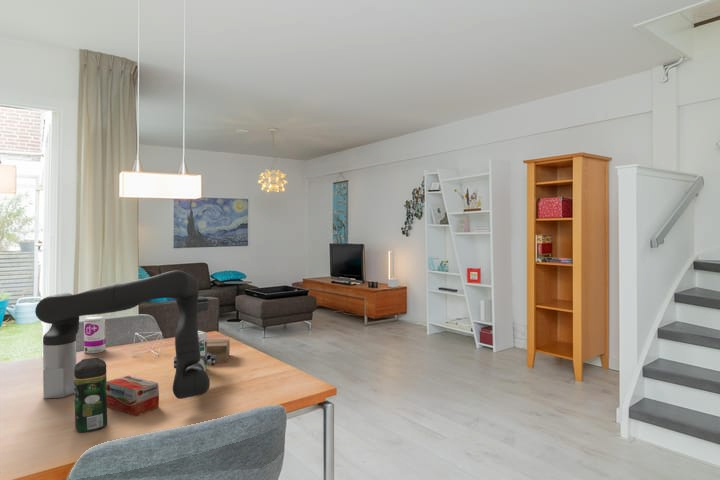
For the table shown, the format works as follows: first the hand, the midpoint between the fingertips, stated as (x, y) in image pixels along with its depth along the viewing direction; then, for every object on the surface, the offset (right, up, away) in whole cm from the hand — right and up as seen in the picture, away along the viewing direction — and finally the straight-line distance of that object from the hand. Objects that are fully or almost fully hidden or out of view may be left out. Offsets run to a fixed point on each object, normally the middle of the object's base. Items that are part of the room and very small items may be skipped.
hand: (195, 355), depth 170 cm
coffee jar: (-14, -9, -42) cm, 45 cm away
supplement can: (-57, -7, +33) cm, 66 cm away
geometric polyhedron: (-32, -7, +29) cm, 44 cm away
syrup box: (-3, -8, +9) cm, 12 cm away
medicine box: (-10, -9, -29) cm, 32 cm away
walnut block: (0, -7, +22) cm, 24 cm away
